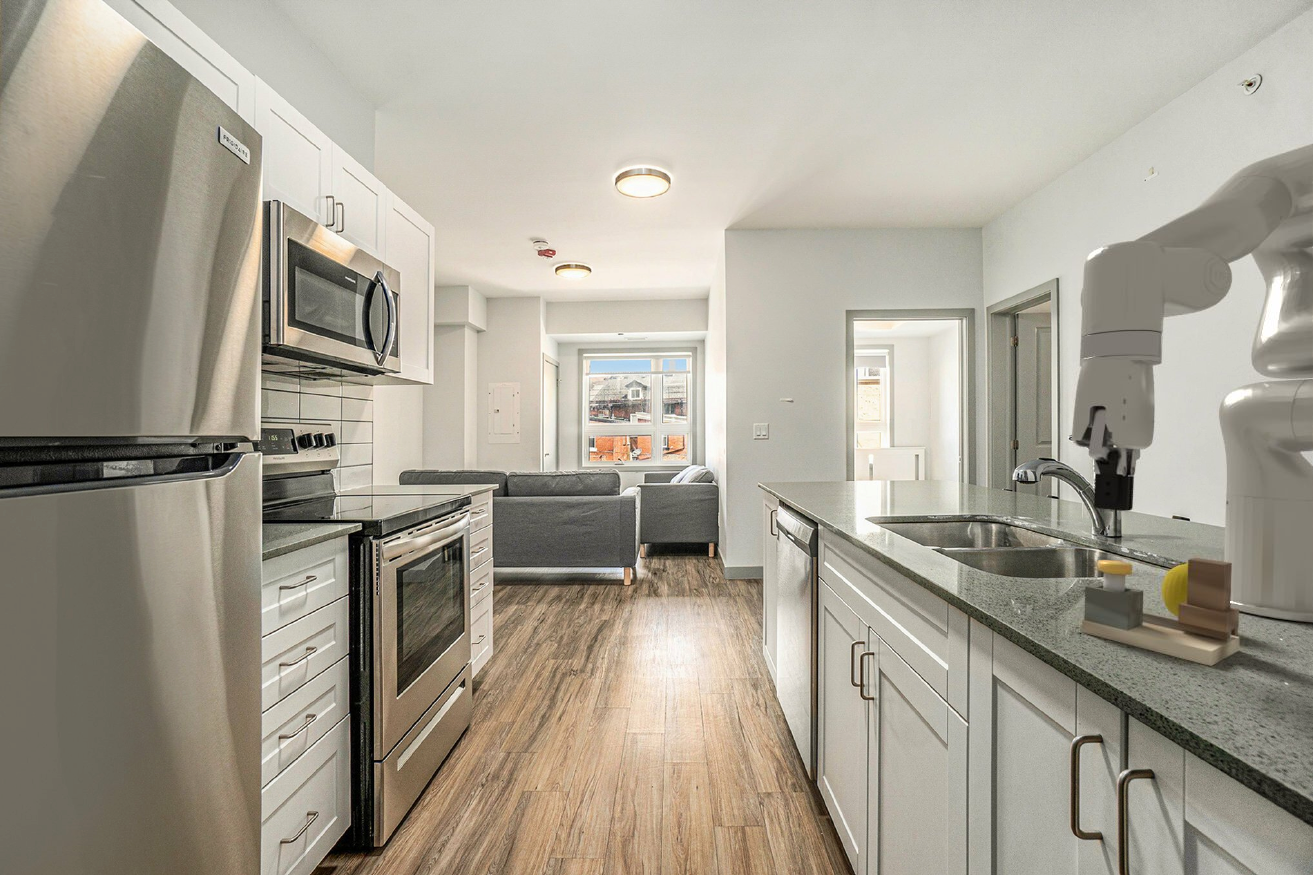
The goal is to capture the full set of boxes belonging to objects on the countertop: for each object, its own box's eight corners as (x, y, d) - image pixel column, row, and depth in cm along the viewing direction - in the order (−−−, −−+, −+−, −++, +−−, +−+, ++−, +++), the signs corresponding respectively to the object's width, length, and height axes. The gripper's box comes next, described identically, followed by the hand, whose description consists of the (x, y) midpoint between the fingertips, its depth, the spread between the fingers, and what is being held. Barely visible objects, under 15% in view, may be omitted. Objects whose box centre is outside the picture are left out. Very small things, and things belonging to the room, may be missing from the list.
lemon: (1232, 635, 70) (1234, 568, 70) (1179, 631, 71) (1181, 565, 71) (1200, 620, 75) (1201, 558, 75) (1150, 617, 76) (1152, 555, 76)
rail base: (1114, 621, 74) (1115, 577, 74) (1239, 650, 65) (1240, 600, 65) (1081, 632, 70) (1083, 586, 70) (1211, 665, 60) (1212, 612, 60)
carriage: (1190, 623, 68) (1192, 556, 68) (1238, 634, 64) (1240, 563, 64) (1177, 629, 66) (1179, 559, 66) (1226, 640, 62) (1228, 566, 62)
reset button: (1103, 600, 71) (1104, 559, 71) (1135, 607, 68) (1137, 564, 68) (1091, 603, 69) (1092, 561, 69) (1124, 611, 67) (1125, 567, 66)
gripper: (1109, 362, 76) (1103, 504, 76) (1053, 348, 68) (1046, 506, 68) (1184, 356, 69) (1178, 511, 69) (1132, 340, 61) (1124, 515, 61)
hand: (1112, 508), depth 68 cm, fingers closed
